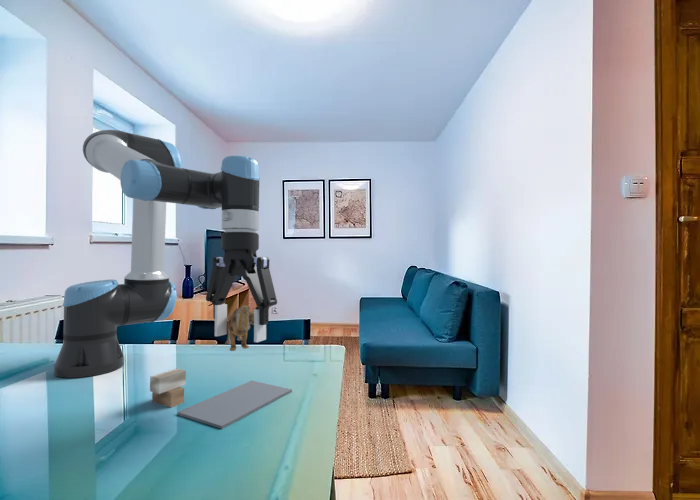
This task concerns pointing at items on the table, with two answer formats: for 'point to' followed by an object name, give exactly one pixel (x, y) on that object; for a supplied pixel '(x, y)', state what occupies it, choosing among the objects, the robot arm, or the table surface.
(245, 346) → the lion figurine
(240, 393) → the gray mat
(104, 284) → the robot arm
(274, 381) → the table surface
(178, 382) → the brick stack
